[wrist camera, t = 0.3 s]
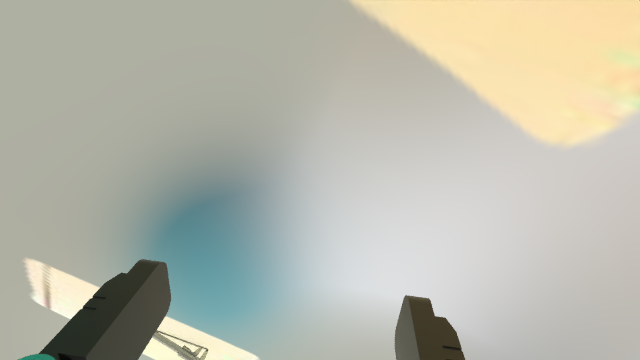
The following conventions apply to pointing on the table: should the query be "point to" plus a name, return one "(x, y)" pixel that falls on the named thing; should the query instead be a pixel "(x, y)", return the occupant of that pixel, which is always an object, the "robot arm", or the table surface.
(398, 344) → the robot arm
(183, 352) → the caliper
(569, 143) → the table surface
